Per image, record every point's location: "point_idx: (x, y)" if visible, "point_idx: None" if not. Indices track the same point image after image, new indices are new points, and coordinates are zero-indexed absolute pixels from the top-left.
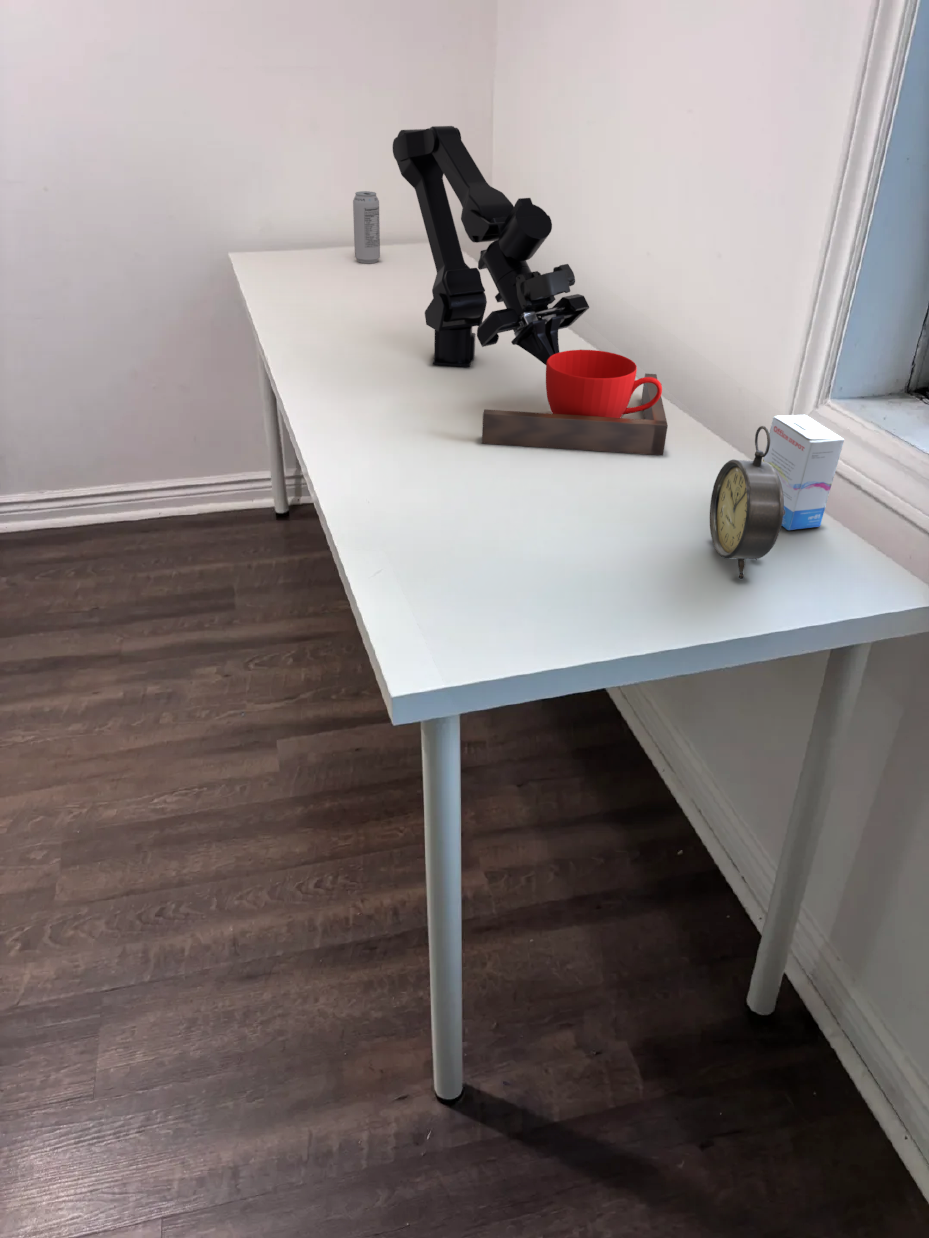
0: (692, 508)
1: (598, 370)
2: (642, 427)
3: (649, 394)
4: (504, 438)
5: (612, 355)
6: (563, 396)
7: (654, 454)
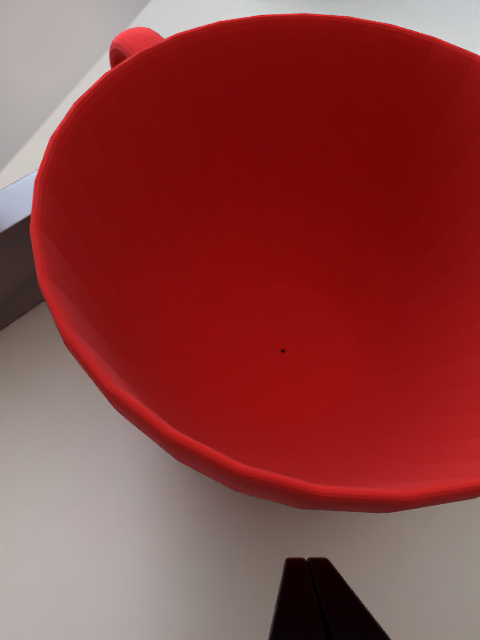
0: (367, 16)
1: (113, 358)
2: None
3: (29, 213)
4: None
5: (47, 236)
6: None
7: None
